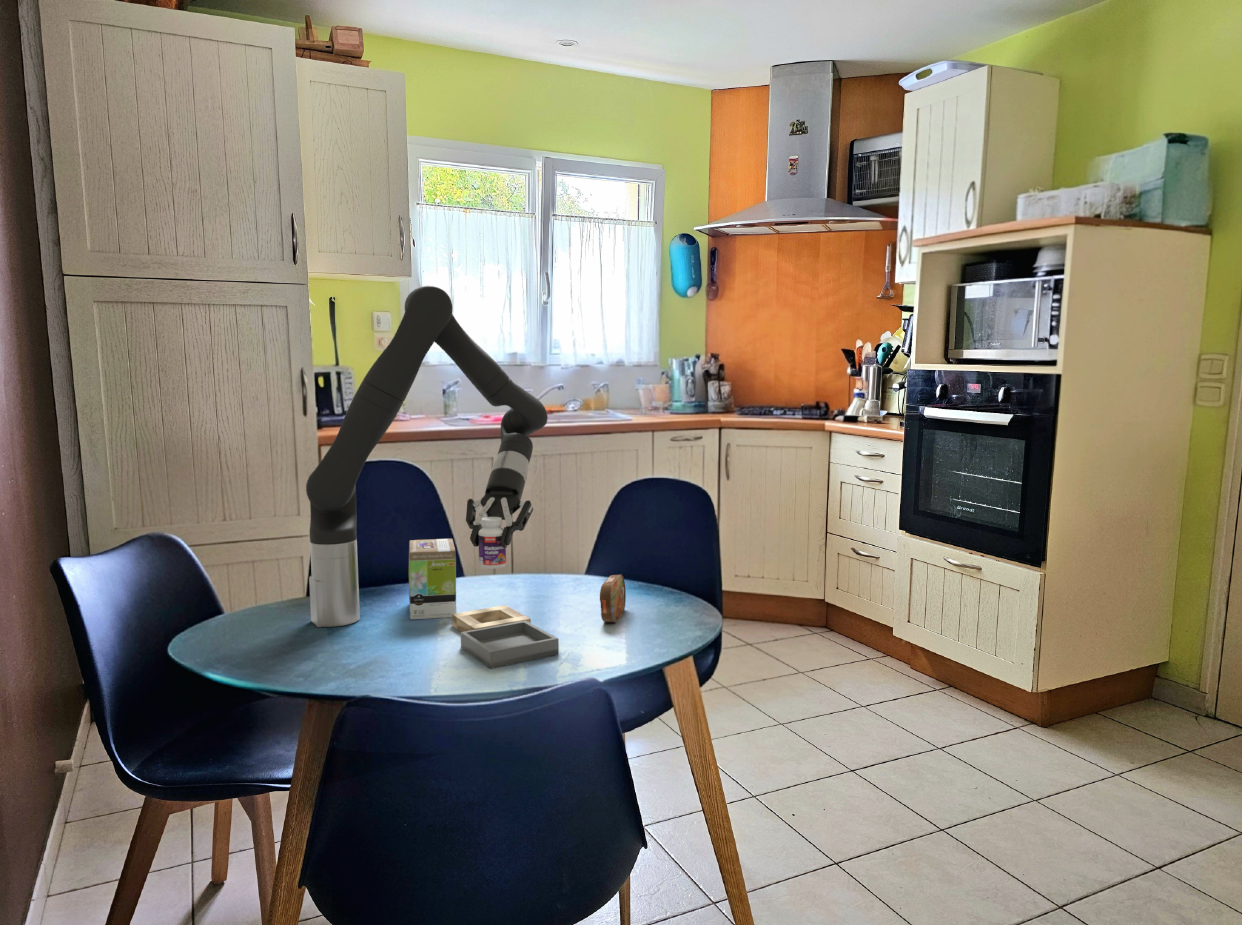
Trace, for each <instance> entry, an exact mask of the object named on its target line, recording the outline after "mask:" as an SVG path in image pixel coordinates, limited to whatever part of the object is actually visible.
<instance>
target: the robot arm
mask: <svg viewBox="0 0 1242 925" xmlns="http://www.w3.org/2000/svg"><path fill="white" fill-rule="evenodd" d="M453 309H454V308H453V301H452V299H451V298H450V295H449V294H448V292H446V291H445V290H444V289H443V288H441V287H439V286H435V285H423V286H420V287H417V288H415V289H414V290H412V291H411V292H410V293H409V294H408V295H407V297H406V299H405V302H404V314H403V316H402V319H401V321H400V323H399V325H398V327H397V330H396V331H395V334H394V336H393V337H392V339H391V341H390V342H389V344H388V345H387V347H386V348H385V349H384V350H383V351H382V352H381V354H380V355H379V356H378V357H377V359H376V360H375V362H373V364H371V367H370V368H369V370H368V371H367V373H366V375H365V376H364V378H363V379H362V381H361V383H360V385H359V387H358V388H357V390H356V392H355V394H354V395H353V397H352V400H351V402H350V404H349V406H348V408H347V410H346V413H345V415H344V417H343V420H342V422H341V425H340V427H339V429H338V433H337V435H336V437H335V439H334V441H333V443H332V444H331V445H330V448H329V449H328V451H327V452H326V453H325V455H324V456H323V458H322V459H321V461H320V462H319V463H318V465H317V466H316V467H315V468H314V470H313V471H312V472H311V474H310V475H309V476H308V477H307V478H308V479H307V481H306V484H305V492H306V496H307V499H308V501H309V504H310V505H309V506H310V507H309V508H310V521H309V522H310V523H309V546H310V567H311V568H310V570H311V572H310V573H311V574H310V576H309V578H308V579H309V580H308V582H309V602H310V603H309V605H310V606H309V607H310V621H311V622H312V623H313V624H314V625H315V627H317V628H322V627H327V628H328V627H329V628H330V627H341V626H347V625H351V624H354V623H356V622H358V621H359V620H360V612H361V611H360V610H361V608H360V590H359V564H358V541H357V540H358V538H357V537H358V536H357V535H358V534H357V523H358V522H357V521H358V520H357V519H358V518H357V516H358V515H357V513H358V512H357V488H356V487H357V484H356V483H357V482H358V479H359V477H360V474H361V472H362V469H363V468H364V465H365V464H366V462H367V459H368V458H369V456H370V455H371V453H372V451H373V450H374V448H376V446H377V445H378V444H379V442H380V441H381V439H382V438H383V436H384V435H385V434H386V432H387V431H388V430H389V428H390V427H391V425H392V423H393V422H394V420H395V418H396V417H397V415H398V413H399V411H400V410H401V409H402V406H403V404H404V402H405V401H406V399H407V396H408V394H409V393H410V390H411V388H412V386H413V384H414V382H415V380H416V377H417V375H418V373H419V371H420V368H421V365H422V363H423V362H424V359H425V357H426V355H427V354H428V352H429V350H430V349H431V348H432V346H433V344H434V343H435V344H436V345H437V346H439V348H440V349H442V350H443V351H444V353H445V354H446V355H447V356H448V357H449V358H450V359H451V360H452V361H453V363H454V364H455V365H456V366H457V367H458V369H459V370H460V371H461V372H462V373H463V374H464V376H465V377H466V378H467V379H468V380H469V382H470V383H471V384H472V385H473V386H474V388H475V389H476V390H477V391H478V392H479V393H480V394H481V395H482V397H483V398H484V399H485V400H486V401H487V402H488V403H489V404H490V405H491V406H492V407H495V408H497V407H501V406H503V407H504V406H507V407H508V408H509V407H510V409H508V410H507V411H506V412H505V413H504V415H503V416H502V418H501V422H500V446H499V449H498V451H497V455H496V458H495V459H494V462H493V465H492V468H491V472H490V475H489V478H488V481H487V484H486V486H485V491H484V492H485V493H484V495H483V496H482V498H480V500H474V499H473V498H468V499H467V501H466V502H467V503H466V515H465V522H466V524H467V526H468V528H469V529H471V533H470V537H469V539H470V542H471V544H472V545H473V547H476V548H477V547H478V548H479V543H478V533H479V530H480V529H482V528H483V526H482V524H481V523H482V518H485V517H500V518H502V521H505V525H506V526H504V527H503V529H504V530H503V534H502V538H501V545H502V547H503V548H508V546H510V544H511V541H512V538H513V534H514V533H515V531H520V532H522V531H523V530H525V528H526V525H527V524H528V521H529V519H530V517H531V515H532V513H533V511H534V508H533V504H532V502H531V500H525V501H521V500H522V496H523V492H524V490H525V489H524V488H525V484H526V482H527V481H528V474H529V467H530V462H531V458H532V454H533V448H534V445H533V442H532V439H531V438H530V437H529V436H530V435H532V434H533V433H536V432H537V431H539V430H541V429H543V428H544V427H545V426H546V425H547V422H548V418H549V417H548V412H547V409H546V408H545V406H544V403H542V402H541V401H540V399H538V398H537V397H535V396H534V395H532V393H530V392H528V391H527V390H525V389H524V388H523V387H522V386H520V385H518V384H517V383H515V382H514V381H513V380H512V379H511V377H510V376H509V375H508V374H507V372H505V370H504V369H503V368H502V367H501V366H500V365H499V364H498V363H497V362H496V360H494V359H493V358H492V356H490V354H489V353H487V351H485V350H484V349H483V348H482V347H481V346H480V345H478V343H477V342H475V340H473V339H472V338H471V337H470V335H469V334H468V333H467V332H466V331H465V330H464V328H463V327H462V326H461V325H460V323H459V322H458V321H457V319H456V318H455V316H454V314H453ZM480 507H482V509H481V510H480V511H479V509H480ZM518 510H520V511H519V513H518V515H517V518H516V519H515V521H514V517H513V515H514V514H515V513H516V512H517V511H518ZM478 512H479V513H478ZM477 513H478V515H477Z"/></svg>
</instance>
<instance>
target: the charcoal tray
mask: <svg viewBox="0 0 1242 925" xmlns="http://www.w3.org/2000/svg"><path fill="white" fill-rule="evenodd" d="M559 646H560V645H559V638H558V637H557V636H555V635H553V634H552V633H549V632H547V631H545V630H544V629H541V628H540V627H538V626H536V625H535V624H532V623H529V622H527V621H521V622H515V623H509V624H504V625H498V626H493V627H487V628H482V629H476V630H471V631H465V632H461V631H460V648H461V649H462V650H464V651H465V652H466V653H468V654H469V655H471V656H472V657H473V658H474V659H476V660H477V661H479V663H481V664H483V665H484V666H486V667H487V668H489V669H490V670H492V669H495V668H500V667H501V668H502V667H505V666H509V665H510V666H511V665H514V664H518V663H519V664H520V663H525V662H529V661H534V660H537V659H542V658H543V659H544V658H548V657H552V656H556V655H560V654H559V653H560V652H559V650H560V648H559Z"/></svg>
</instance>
